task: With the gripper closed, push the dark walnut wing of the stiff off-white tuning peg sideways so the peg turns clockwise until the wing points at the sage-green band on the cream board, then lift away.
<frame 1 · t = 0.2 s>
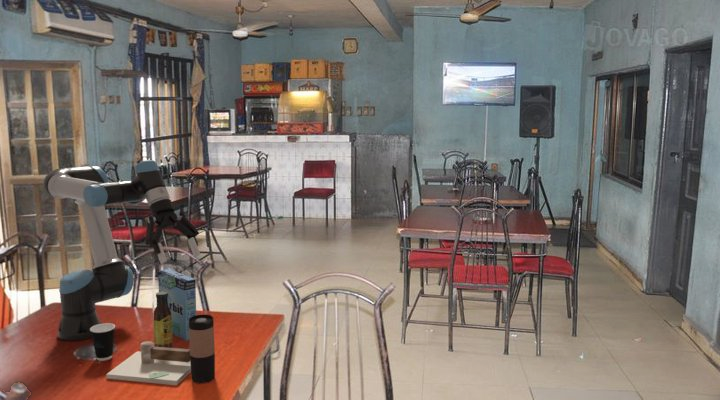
hand: (181, 259, 200), 35 cm above the table, tool tilted 30°, fingers open, 13 cm apart
sauce bottle: (163, 346, 213), on the table
gum box: (178, 333, 226), on the table
dixie cup: (104, 358, 203), on the table
tuning peg: (165, 353, 195), point 5 cm above the table, hinge at 0.0°
travel mug: (203, 378, 188), on the table
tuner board: (156, 369, 194), on the table
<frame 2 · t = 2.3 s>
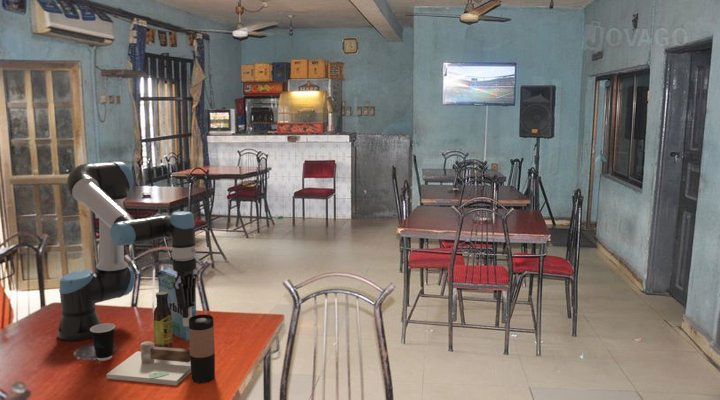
hand: (187, 325, 201), 12 cm above the table, tool pointing down, fingers closed
nothing on the table moved.
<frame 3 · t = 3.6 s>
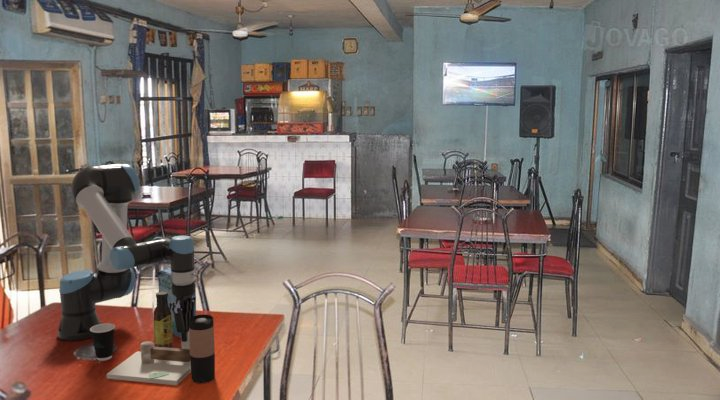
hand: (186, 349, 201), 4 cm above the table, tool pointing down, fingers closed
nothing on the table moved.
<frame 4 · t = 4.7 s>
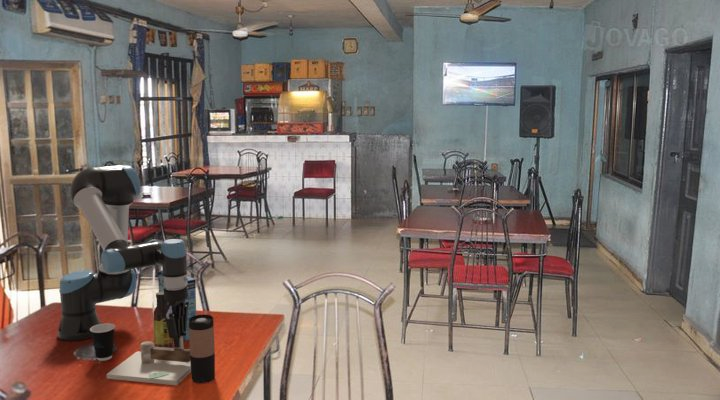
hand: (179, 355, 196), 4 cm above the table, tool pointing down, fingers closed
tuning peg: (165, 353, 195), point 5 cm above the table, hinge at -0.2°, touching gripper
everything else where it was.
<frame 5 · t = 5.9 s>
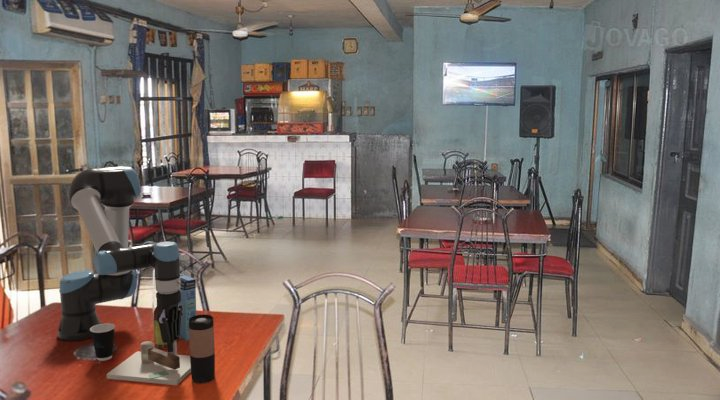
hand: (172, 359, 193), 4 cm above the table, tool pointing down, fingers closed
tuning peg: (160, 356, 193), point 5 cm above the table, hinge at -23.6°, touching gripper
everything else where it was.
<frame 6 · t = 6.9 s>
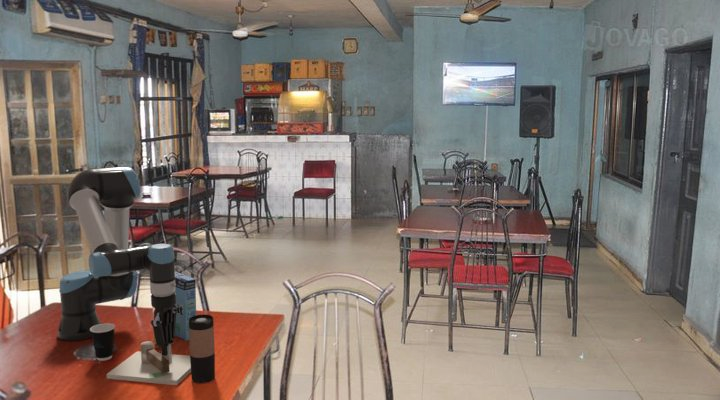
hand: (167, 363, 191), 4 cm above the table, tool pointing down, fingers closed
tuning peg: (155, 358, 192), point 5 cm above the table, hinge at -38.4°, touching gripper
everything else where it was.
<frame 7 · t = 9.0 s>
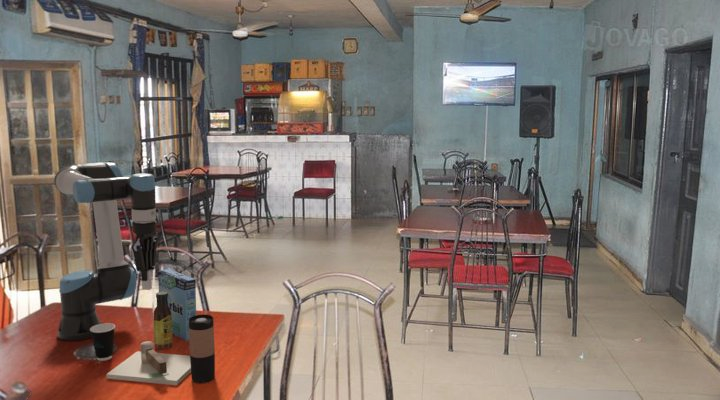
hand: (147, 288, 199), 25 cm above the table, tool pointing down, fingers closed
tuning peg: (154, 358, 191), point 5 cm above the table, hinge at -41.8°
everything else where it was.
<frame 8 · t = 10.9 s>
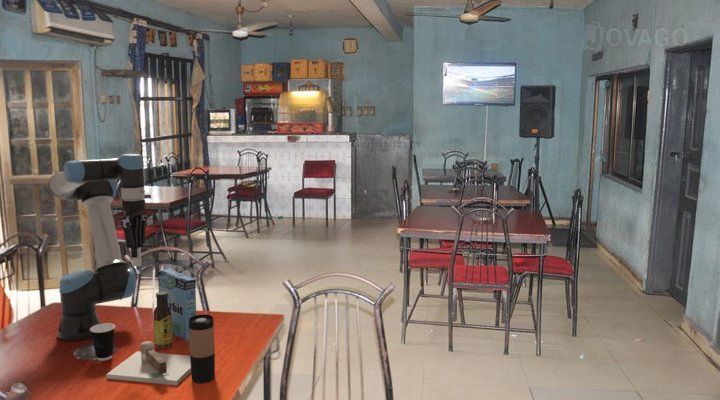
hand: (137, 265, 207), 30 cm above the table, tool pointing down, fingers closed
nothing on the table moved.
at the end: tuning peg at -42° (first picture: +0°); travel mug moved 0.2 cm from its start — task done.
